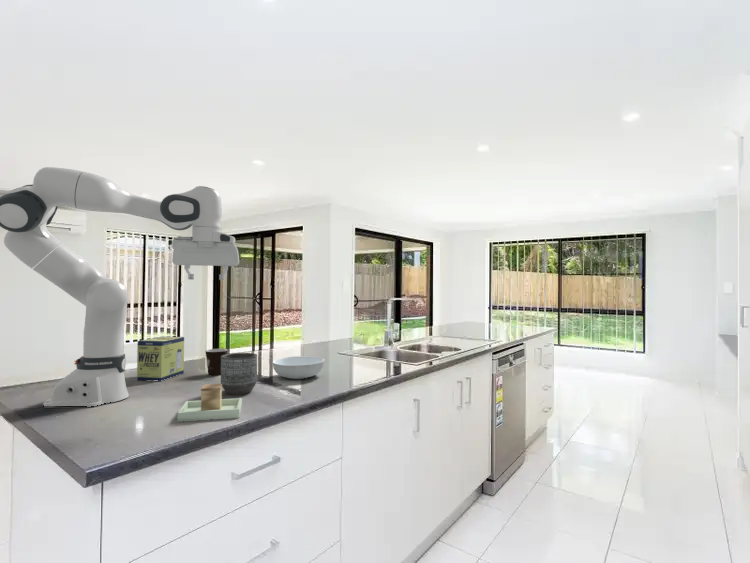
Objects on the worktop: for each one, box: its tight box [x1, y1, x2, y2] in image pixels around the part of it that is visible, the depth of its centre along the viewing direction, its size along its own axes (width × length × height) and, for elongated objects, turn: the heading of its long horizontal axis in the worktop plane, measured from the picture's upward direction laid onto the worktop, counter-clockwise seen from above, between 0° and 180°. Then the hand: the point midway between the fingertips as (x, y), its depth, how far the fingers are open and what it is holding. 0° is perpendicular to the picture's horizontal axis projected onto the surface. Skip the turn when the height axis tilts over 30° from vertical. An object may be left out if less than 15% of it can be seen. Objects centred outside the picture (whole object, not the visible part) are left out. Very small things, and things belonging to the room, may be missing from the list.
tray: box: [177, 397, 243, 423], centre depth 121 cm, size 16×12×2 cm
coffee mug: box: [205, 348, 228, 377], centre depth 173 cm, size 12×9×10 cm
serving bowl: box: [272, 355, 326, 380], centre depth 171 cm, size 21×21×7 cm
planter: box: [220, 352, 258, 396], centre depth 146 cm, size 12×12×13 cm
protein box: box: [136, 335, 185, 382], centre depth 169 cm, size 10×16×16 cm
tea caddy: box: [200, 383, 223, 411], centre depth 121 cm, size 5×5×7 cm
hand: (206, 279), depth 136 cm, fingers open, 8 cm apart
